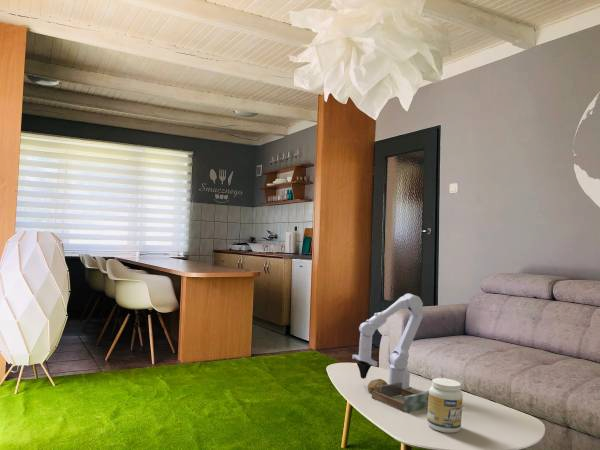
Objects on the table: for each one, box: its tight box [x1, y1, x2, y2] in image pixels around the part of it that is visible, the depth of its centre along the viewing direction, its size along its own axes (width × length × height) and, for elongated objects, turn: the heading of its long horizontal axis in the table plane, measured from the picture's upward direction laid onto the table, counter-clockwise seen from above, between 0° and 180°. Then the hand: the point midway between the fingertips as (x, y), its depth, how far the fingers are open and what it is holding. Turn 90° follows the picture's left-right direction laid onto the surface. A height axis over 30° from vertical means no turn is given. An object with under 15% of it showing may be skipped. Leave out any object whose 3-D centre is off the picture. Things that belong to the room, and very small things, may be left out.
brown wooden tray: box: [371, 388, 429, 413], centre depth 208 cm, size 16×19×6 cm
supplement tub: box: [426, 377, 464, 434], centre depth 182 cm, size 12×12×17 cm
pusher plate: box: [380, 382, 402, 398], centre depth 213 cm, size 13×1×6 cm, turn 127°
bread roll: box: [367, 378, 389, 396], centre depth 218 cm, size 10×10×8 cm
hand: (363, 378), depth 226 cm, fingers closed
